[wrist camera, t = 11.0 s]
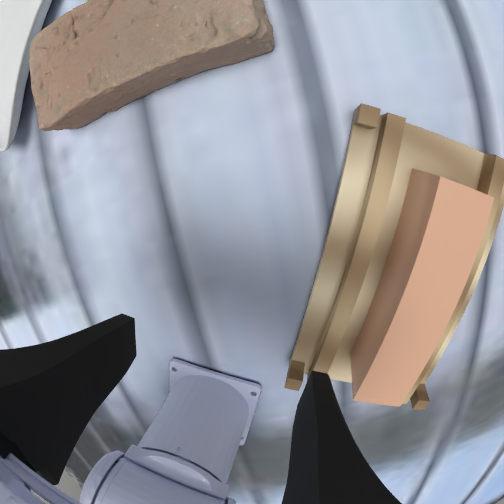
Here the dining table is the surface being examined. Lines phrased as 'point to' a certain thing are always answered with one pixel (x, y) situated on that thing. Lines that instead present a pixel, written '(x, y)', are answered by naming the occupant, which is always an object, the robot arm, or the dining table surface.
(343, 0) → the dining table surface
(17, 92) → the salad plate
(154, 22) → the brick
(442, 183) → the clay strip
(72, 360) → the robot arm
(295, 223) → the dining table surface
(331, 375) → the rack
